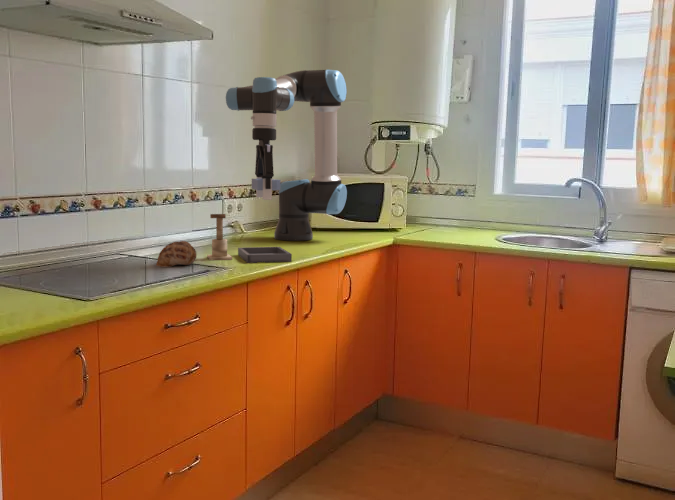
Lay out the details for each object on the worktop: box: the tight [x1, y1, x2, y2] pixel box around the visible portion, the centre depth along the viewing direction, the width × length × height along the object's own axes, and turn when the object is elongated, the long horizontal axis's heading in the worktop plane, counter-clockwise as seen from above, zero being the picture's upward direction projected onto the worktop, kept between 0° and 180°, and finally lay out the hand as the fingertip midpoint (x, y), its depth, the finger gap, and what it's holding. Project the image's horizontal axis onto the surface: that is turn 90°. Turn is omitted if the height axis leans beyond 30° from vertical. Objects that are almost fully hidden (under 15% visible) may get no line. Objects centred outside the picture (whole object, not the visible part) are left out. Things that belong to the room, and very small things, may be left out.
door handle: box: [206, 213, 233, 261], centre depth 232 cm, size 7×7×14 cm
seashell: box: [155, 240, 198, 268], centre depth 217 cm, size 10×9×10 cm
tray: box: [237, 246, 293, 264], centre depth 234 cm, size 14×17×2 cm
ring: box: [251, 178, 281, 191], centre depth 231 cm, size 10×8×3 cm
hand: (263, 198), depth 232 cm, fingers closed on ring, 10 cm apart
